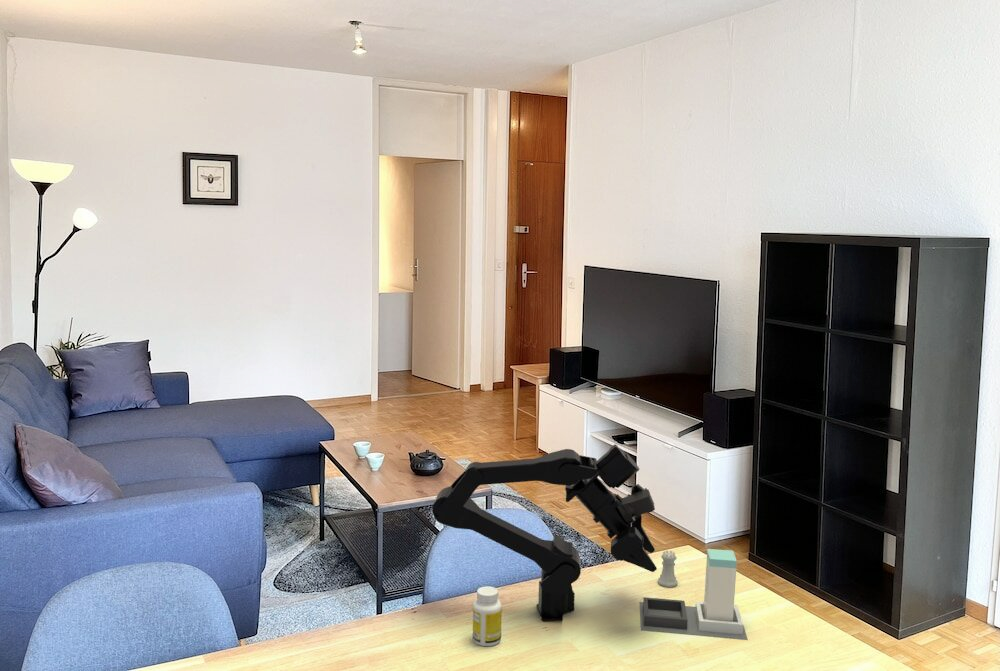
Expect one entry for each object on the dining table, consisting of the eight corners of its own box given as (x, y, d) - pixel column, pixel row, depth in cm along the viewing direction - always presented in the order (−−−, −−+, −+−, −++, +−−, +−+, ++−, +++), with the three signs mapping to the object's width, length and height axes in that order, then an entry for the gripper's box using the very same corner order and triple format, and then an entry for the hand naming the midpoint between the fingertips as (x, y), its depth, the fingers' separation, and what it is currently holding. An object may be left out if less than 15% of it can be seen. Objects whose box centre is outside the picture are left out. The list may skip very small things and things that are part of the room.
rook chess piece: (679, 592, 177) (681, 557, 176) (658, 592, 177) (660, 556, 176) (675, 583, 181) (677, 549, 180) (655, 583, 181) (657, 548, 180)
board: (640, 635, 158) (641, 620, 158) (639, 606, 170) (639, 592, 170) (747, 644, 156) (748, 629, 155) (738, 615, 167) (739, 601, 167)
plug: (705, 627, 160) (710, 558, 158) (703, 615, 165) (707, 548, 163) (732, 629, 159) (736, 561, 157) (728, 617, 164) (733, 550, 162)
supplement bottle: (505, 635, 157) (506, 587, 156) (495, 649, 152) (496, 599, 151) (478, 630, 159) (479, 582, 158) (468, 644, 154) (469, 594, 152)
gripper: (632, 492, 152) (689, 554, 152) (631, 463, 170) (682, 518, 170) (587, 529, 154) (643, 590, 154) (591, 496, 172) (641, 551, 172)
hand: (654, 560), depth 162 cm, fingers open, 9 cm apart
